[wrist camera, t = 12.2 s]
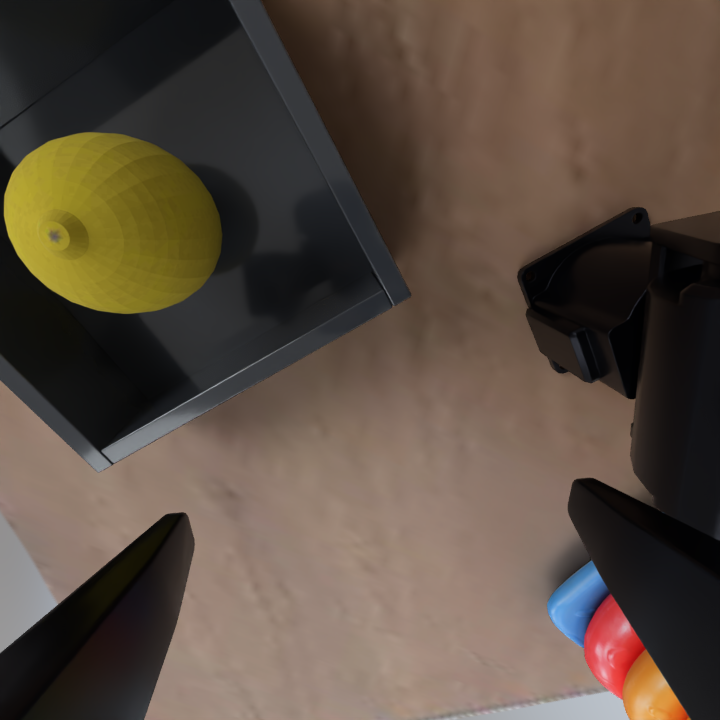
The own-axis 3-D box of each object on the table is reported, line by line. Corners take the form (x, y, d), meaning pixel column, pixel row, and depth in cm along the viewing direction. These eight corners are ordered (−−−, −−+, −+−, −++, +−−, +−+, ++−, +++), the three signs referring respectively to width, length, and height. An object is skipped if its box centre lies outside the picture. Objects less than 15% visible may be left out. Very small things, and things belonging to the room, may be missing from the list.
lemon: (201, 311, 18) (112, 382, 11) (86, 236, 16) (-115, 257, 9) (266, 212, 17) (215, 213, 9) (146, 120, 15) (-31, 32, 8)
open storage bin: (221, -51, 14) (163, -193, 9) (390, 274, 19) (412, 297, 14) (-71, 163, 16) (-253, 142, 11) (153, 410, 21) (97, 473, 16)
